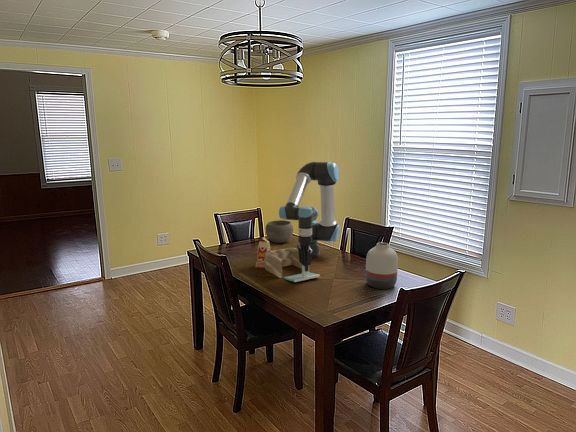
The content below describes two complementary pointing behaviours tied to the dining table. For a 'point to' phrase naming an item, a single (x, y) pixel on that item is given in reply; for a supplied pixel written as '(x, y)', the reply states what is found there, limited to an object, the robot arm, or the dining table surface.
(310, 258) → the robot arm
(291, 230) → the bowl
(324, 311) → the dining table surface
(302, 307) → the dining table surface
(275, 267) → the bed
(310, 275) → the light blue flat panel
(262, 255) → the milk carton
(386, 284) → the vase
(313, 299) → the dining table surface
